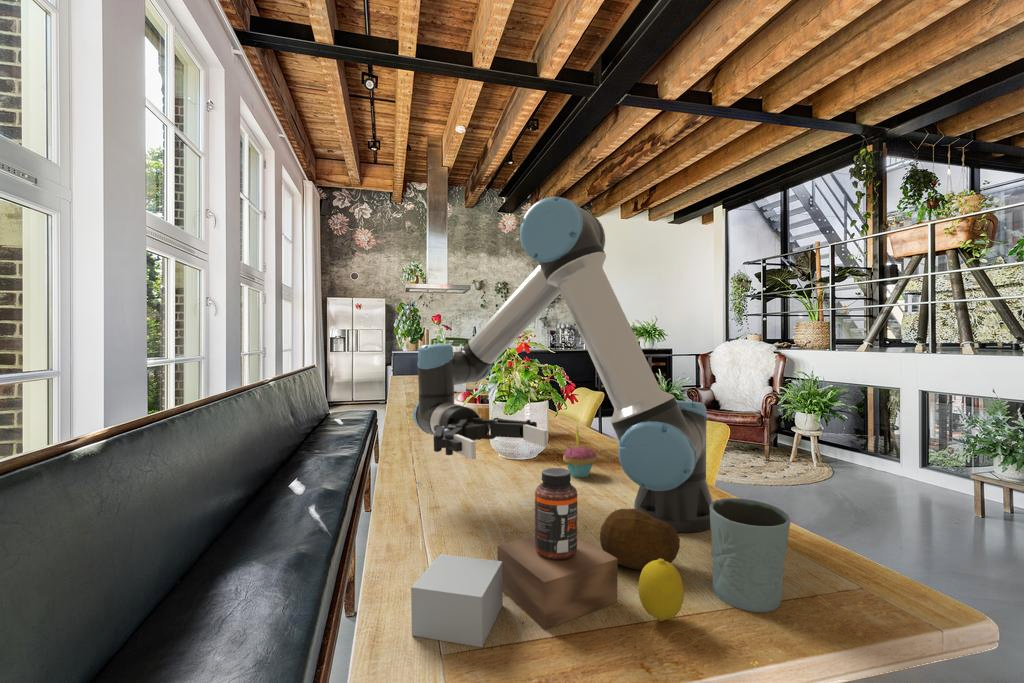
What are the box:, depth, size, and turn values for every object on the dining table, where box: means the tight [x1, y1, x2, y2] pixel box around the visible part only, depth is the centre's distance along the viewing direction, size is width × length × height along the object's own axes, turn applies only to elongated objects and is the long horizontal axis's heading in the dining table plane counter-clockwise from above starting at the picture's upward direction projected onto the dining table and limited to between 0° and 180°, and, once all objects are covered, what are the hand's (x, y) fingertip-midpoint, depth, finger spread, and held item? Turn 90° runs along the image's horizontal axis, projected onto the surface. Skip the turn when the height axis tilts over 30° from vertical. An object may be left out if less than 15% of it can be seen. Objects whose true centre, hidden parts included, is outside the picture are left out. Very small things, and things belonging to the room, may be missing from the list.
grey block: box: [410, 553, 504, 648], centre depth 63 cm, size 9×9×6 cm
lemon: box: [637, 558, 685, 623], centre depth 63 cm, size 6×6×8 cm
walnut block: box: [496, 534, 619, 631], centre depth 69 cm, size 12×12×6 cm
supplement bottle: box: [534, 467, 578, 559], centre depth 69 cm, size 6×6×11 cm
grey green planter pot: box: [710, 497, 791, 613], centre depth 69 cm, size 10×10×12 cm
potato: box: [599, 508, 681, 571], centre depth 77 cm, size 8×12×9 cm
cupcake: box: [562, 425, 598, 479], centre depth 124 cm, size 9×8×12 cm
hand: (511, 444), depth 80 cm, fingers open, 13 cm apart
